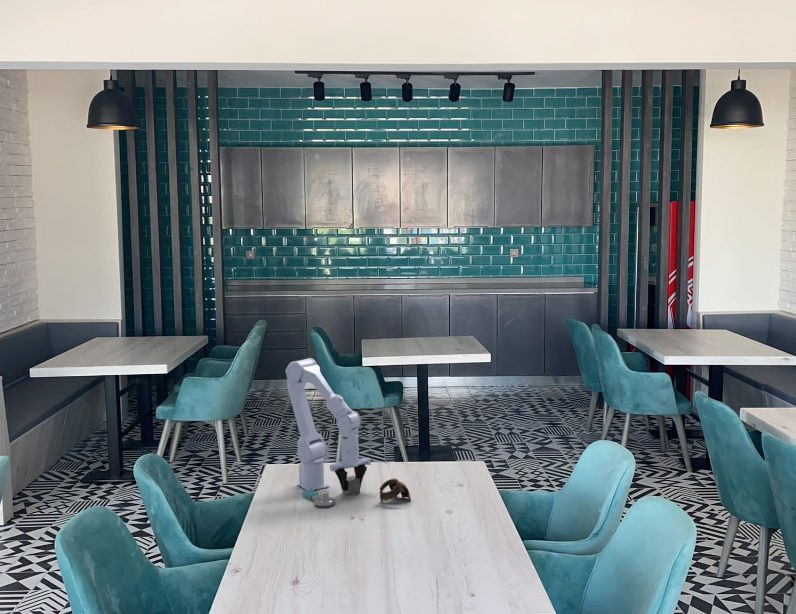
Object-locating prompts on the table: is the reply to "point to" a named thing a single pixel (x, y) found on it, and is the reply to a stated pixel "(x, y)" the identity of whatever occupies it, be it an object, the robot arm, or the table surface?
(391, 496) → the brown openwork dome
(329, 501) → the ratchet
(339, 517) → the table surface
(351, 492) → the socket
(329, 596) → the table surface
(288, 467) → the table surface
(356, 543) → the table surface
